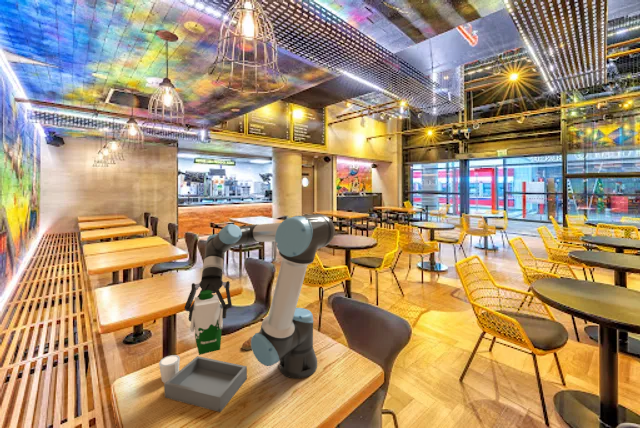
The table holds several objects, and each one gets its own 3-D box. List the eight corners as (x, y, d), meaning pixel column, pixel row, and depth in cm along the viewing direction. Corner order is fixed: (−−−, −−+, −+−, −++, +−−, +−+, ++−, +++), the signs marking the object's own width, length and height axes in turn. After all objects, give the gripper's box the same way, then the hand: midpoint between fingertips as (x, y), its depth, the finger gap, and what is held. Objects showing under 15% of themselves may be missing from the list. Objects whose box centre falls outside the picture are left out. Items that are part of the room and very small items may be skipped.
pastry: (246, 353, 119) (246, 345, 118) (239, 347, 124) (238, 339, 123) (265, 344, 125) (265, 337, 125) (257, 339, 130) (257, 331, 130)
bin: (246, 378, 103) (246, 366, 102) (220, 412, 87) (220, 397, 87) (197, 368, 109) (197, 356, 108) (164, 397, 93) (164, 383, 93)
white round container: (157, 385, 99) (156, 367, 98) (162, 373, 105) (161, 356, 105) (178, 382, 101) (177, 364, 100) (182, 370, 107) (181, 353, 107)
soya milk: (220, 338, 105) (218, 287, 103) (223, 350, 97) (220, 296, 94) (195, 343, 101) (192, 291, 99) (196, 357, 93) (193, 301, 91)
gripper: (241, 273, 114) (239, 329, 100) (185, 276, 109) (175, 335, 95) (240, 264, 108) (237, 322, 94) (181, 267, 103) (169, 328, 89)
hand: (206, 329), depth 95 cm, fingers closed on soya milk, 9 cm apart
